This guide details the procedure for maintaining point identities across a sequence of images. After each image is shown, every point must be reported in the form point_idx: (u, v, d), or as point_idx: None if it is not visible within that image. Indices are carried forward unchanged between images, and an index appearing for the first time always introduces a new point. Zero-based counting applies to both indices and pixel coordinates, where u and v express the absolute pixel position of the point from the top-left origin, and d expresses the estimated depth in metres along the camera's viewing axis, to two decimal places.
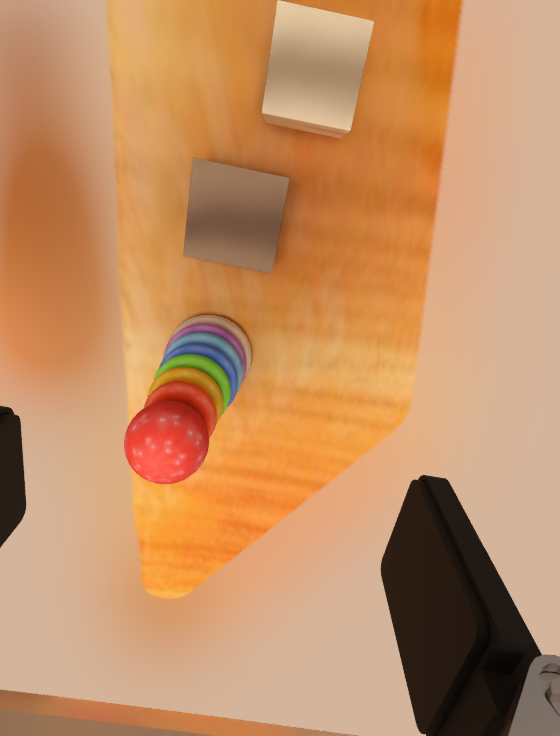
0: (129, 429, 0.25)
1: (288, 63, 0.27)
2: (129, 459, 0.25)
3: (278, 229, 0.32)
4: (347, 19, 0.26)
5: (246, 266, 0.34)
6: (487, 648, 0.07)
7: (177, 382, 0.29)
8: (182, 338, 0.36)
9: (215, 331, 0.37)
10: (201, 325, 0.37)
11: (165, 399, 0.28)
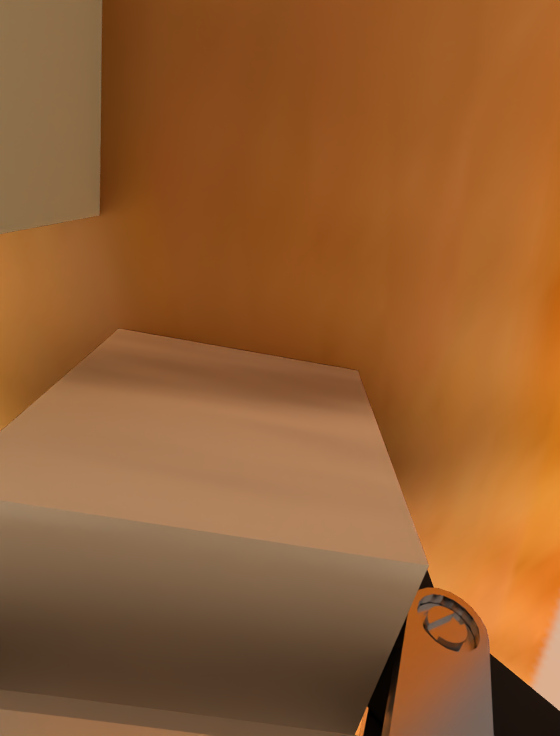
0: None
1: (49, 665, 0.06)
2: None
3: None
4: (297, 557, 0.05)
5: None
6: None
7: None
8: None
9: None
10: None
11: None
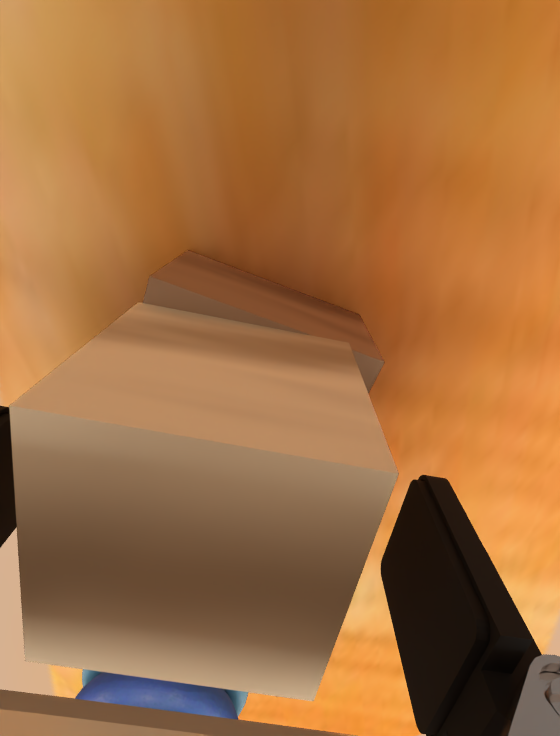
0: None
1: (90, 564, 0.08)
2: None
3: None
4: (294, 466, 0.07)
5: None
6: (487, 648, 0.07)
7: None
8: None
9: None
10: None
11: None
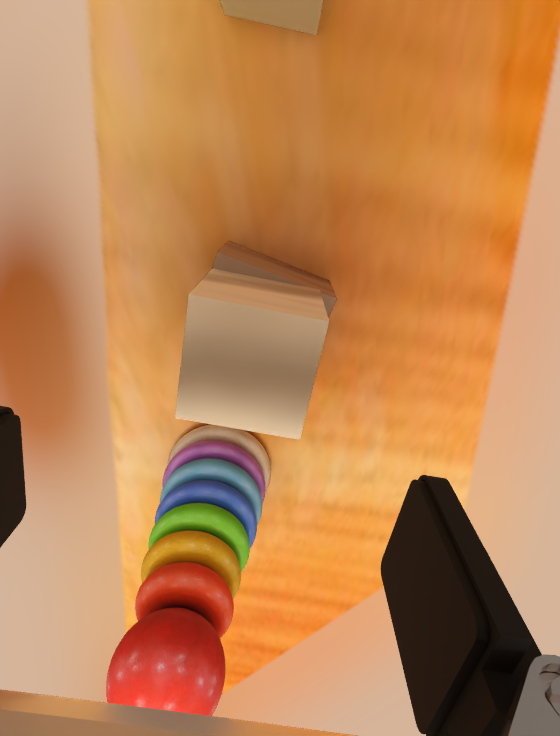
0: (113, 672, 0.18)
1: (209, 365, 0.19)
2: None
3: None
4: (290, 318, 0.18)
5: None
6: (487, 648, 0.07)
7: (181, 568, 0.21)
8: (186, 469, 0.28)
9: (227, 454, 0.30)
10: (210, 446, 0.30)
11: (165, 597, 0.21)
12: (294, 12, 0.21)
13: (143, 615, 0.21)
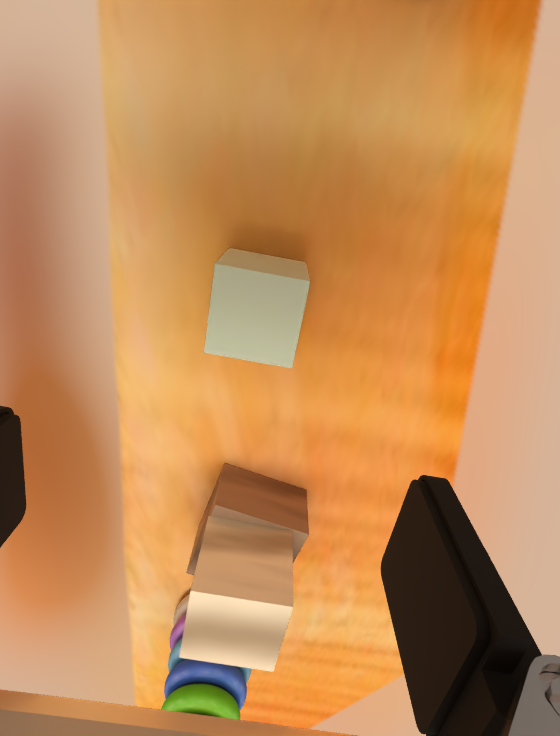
0: None
1: (205, 628, 0.26)
2: None
3: None
4: (265, 605, 0.25)
5: None
6: (487, 648, 0.07)
7: None
8: None
9: None
10: None
11: None
12: None
13: None
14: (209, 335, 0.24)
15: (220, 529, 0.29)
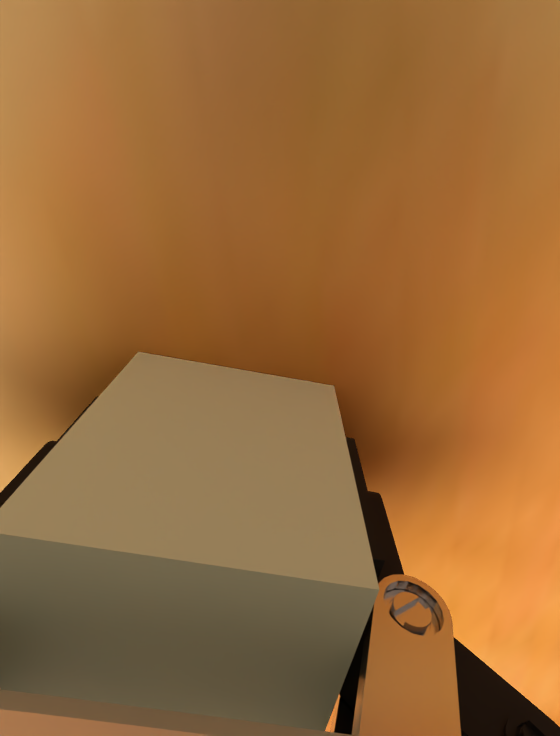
0: None
1: None
2: None
3: None
4: None
5: None
6: None
7: None
8: None
9: None
10: None
11: None
12: None
13: None
14: None
15: None
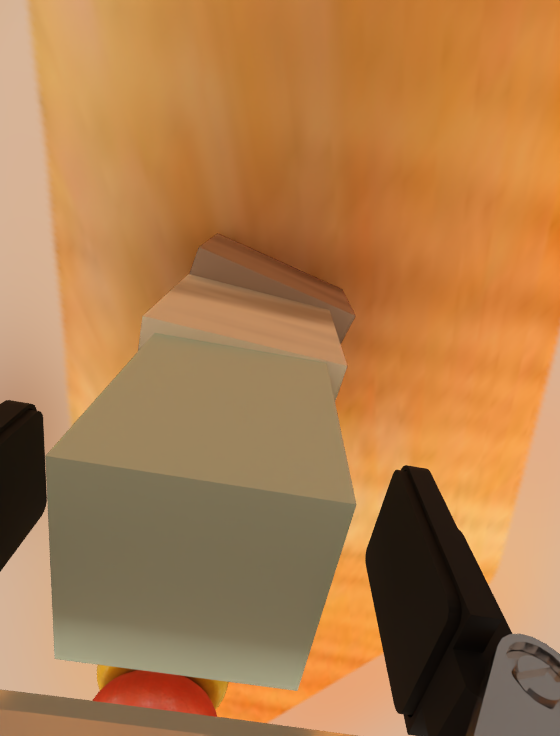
0: None
1: None
2: None
3: None
4: None
5: None
6: (458, 628, 0.07)
7: (145, 684, 0.15)
8: None
9: None
10: None
11: None
12: None
13: None
14: (62, 625, 0.08)
15: (208, 285, 0.17)
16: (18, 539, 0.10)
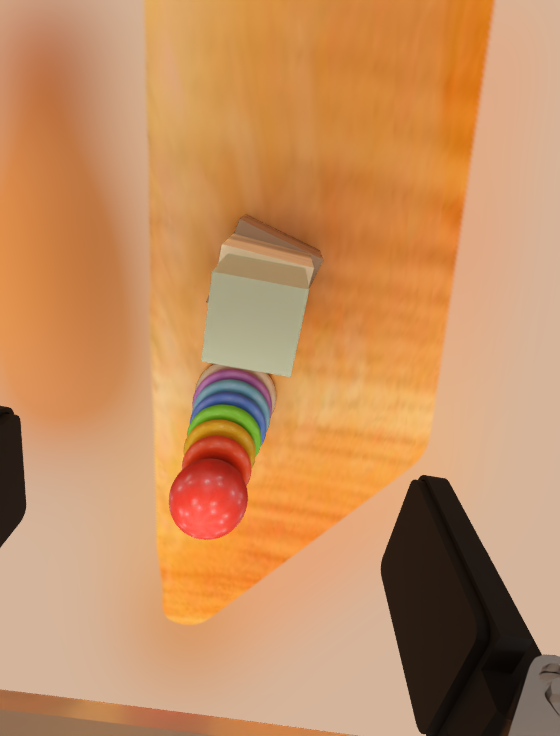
0: (175, 489, 0.27)
1: None
2: (175, 517, 0.27)
3: None
4: (288, 264, 0.27)
5: None
6: (487, 648, 0.07)
7: (215, 437, 0.30)
8: (213, 385, 0.37)
9: (243, 377, 0.39)
10: (230, 371, 0.39)
11: (204, 455, 0.30)
12: None
13: None
14: (206, 343, 0.23)
15: (244, 238, 0.32)
16: None
